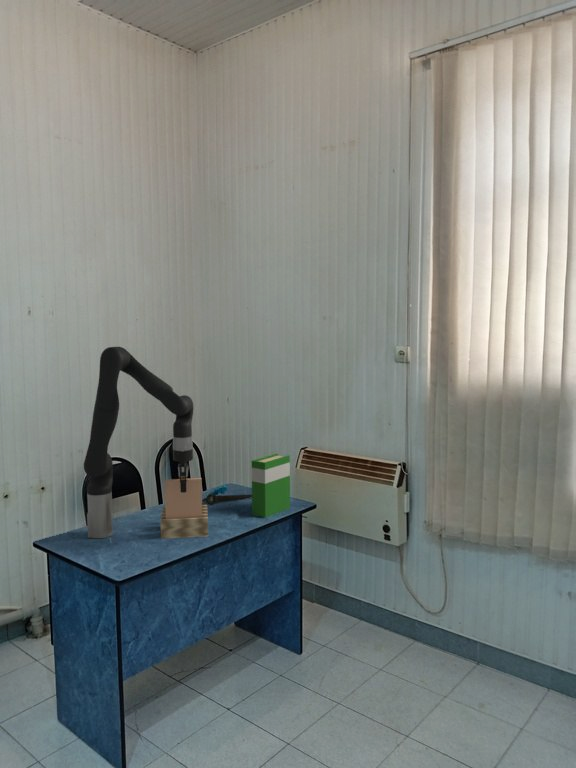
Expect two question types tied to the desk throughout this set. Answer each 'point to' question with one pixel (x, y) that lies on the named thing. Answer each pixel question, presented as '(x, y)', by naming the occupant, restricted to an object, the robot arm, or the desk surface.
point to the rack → (184, 526)
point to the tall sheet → (183, 499)
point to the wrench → (224, 498)
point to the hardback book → (270, 485)
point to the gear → (218, 491)
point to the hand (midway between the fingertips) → (183, 489)
